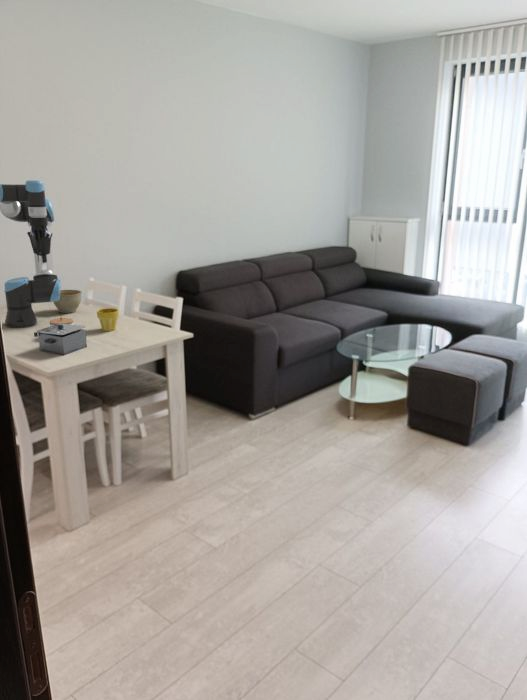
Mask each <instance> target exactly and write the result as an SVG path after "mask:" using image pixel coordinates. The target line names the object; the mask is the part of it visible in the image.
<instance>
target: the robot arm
mask: <svg viewBox="0 0 527 700" xmlns="http://www.w3.org/2000/svg"><path fill="white" fill-rule="evenodd" d="M0 213H1V214H2V215H3V216H4V217H5V218H7V219H9V220H11V221H15V222H18V223H27V226H28V227H30V228H31V229H30V231H27V232H26V234H27V236H28V237H29V241H30V244H31V248H32V252H33V257H34V266H35V274H34V275H33V276H32V277H33V279H29V277H28V276H27V277H24V276H21V277H15V278H11V279H9V280H6V281H5V282H4V294H5V300H6V315H5V319H4V324H5V327H8V326H9V327H8V328H26V327H31V326H34V325H37V323H38V319H37V316H36V315H35V311H34V310H33V306H32V304H40V303H41V304H42V303H54V302H56V301H59V299H60V290H61V278H58V275H57V274H56V273H55V272H54V262H53V254H52V253H53V252H52V251H53V250H52V242H51V241H52V238H53V233H52V232H51V231H50V228H51V226H53V223H52V222H55V215H54V211H53V206H52V202H51V200H49V199H48V198H46V191H45V184H44V181H43V180H37V179H35V180H34V179H33V180H32V179H31V180H26V181H25V184H7V183H6V184H0Z"/></svg>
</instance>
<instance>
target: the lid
mask: <svg viewBox="0 0 527 700" xmlns="http://www.w3.org/2000/svg"><path fill="white" fill-rule="evenodd" d="M85 328H86V325H80V324H73V325H71V324H57V325H54V326H50V325H49V326H48V327H45V328H41V329H37V330H36V332H37V333H46V334H56V335H64V334H67V333H70V332H73V331H76V330H79V329H85Z"/></svg>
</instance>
